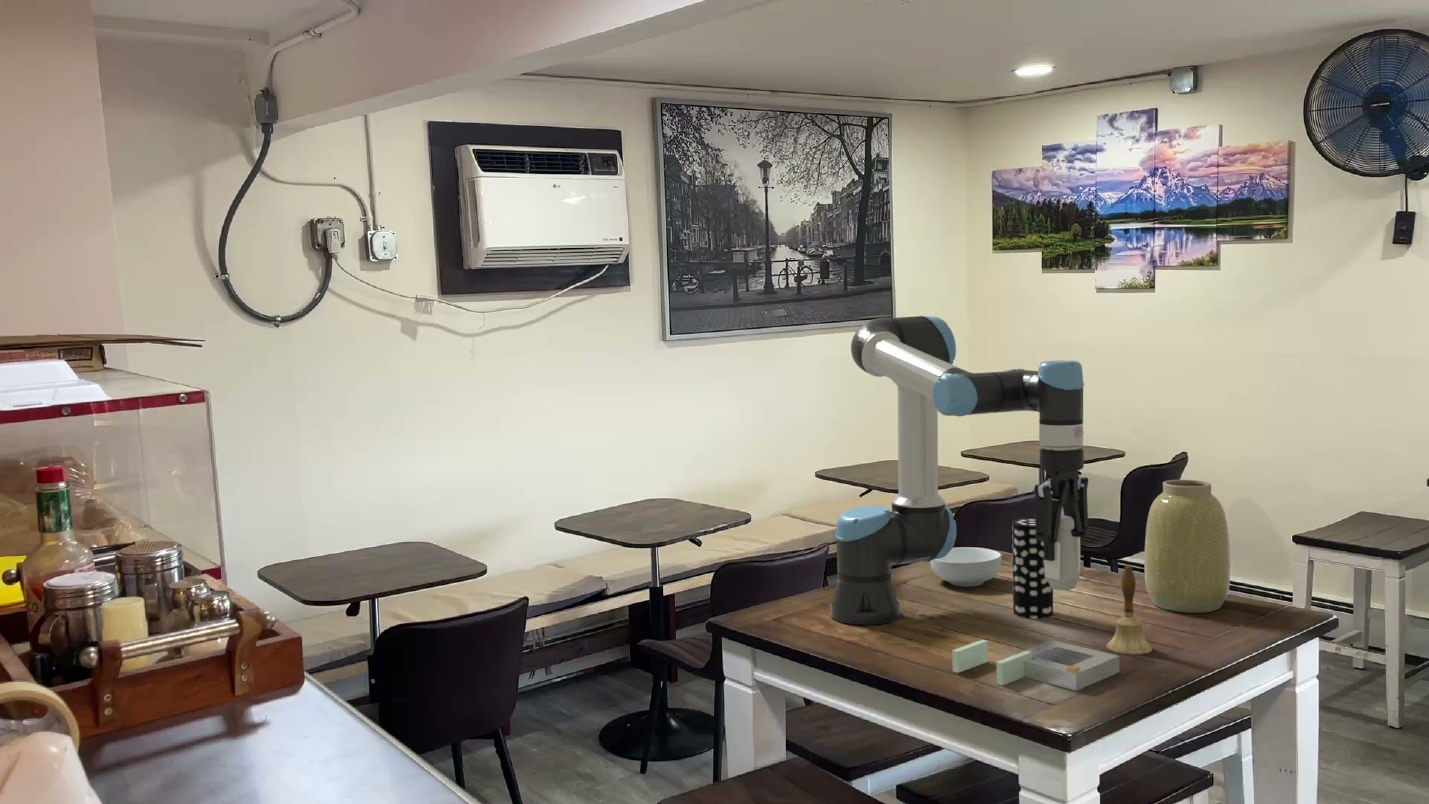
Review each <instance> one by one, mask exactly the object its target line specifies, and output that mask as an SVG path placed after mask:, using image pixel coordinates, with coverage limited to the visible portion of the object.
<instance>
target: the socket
mask: <svg viewBox="0 0 1429 804" xmlns="http://www.w3.org/2000/svg"><path fill="white" fill-rule="evenodd" d="M1024 651H1029V652H1032V658H1029V659H1027V660H1024V677H1023V678H1025V679H1026V678H1027V679H1030V680H1035V681H1036V682H1037V681H1038V682H1042V683H1046V684H1049V685H1053V686H1056V687H1060V688H1064V689H1068V690H1070V691H1073V692H1074V691H1075V692H1077V691H1079V690H1082V689H1084V688H1086V687H1088V686H1091V685H1093V684H1095V683H1098V682H1100V681H1103V680H1104V679H1107V678H1109V677H1111V676H1114V675H1116V674H1118V673H1120V655H1116V654H1113V653H1108V652H1103V651H1100V650H1096V649H1091V648H1087V647H1084V646H1083V647H1082V646H1079V645H1074V644H1071V643H1067V642H1066V643H1065V642H1061V641H1056V640H1054V639H1050V640H1048V641H1045V642H1043V643H1039V644H1037V645H1035V646H1032V647H1028V648H1027V649H1024V650H1021V651H1019V652H1015V653H1013V654H1010V655H1008V656H1007V658H1008V657H1011V656H1014V655H1016V654H1019V653H1022V652H1024Z"/></svg>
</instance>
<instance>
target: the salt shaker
mask: <svg viewBox="0 0 1429 804" xmlns="http://www.w3.org/2000/svg"><path fill="white" fill-rule="evenodd" d="M1072 529H1074V520H1073V518H1072V517H1069V516H1065V515H1064V514H1063V515H1062V514H1061V517H1060V524H1059V530H1058V537H1057V542H1058V543H1060V579H1052V578H1047V577H1046V578H1047V580H1048V582H1049V585H1050V587H1051V588H1053V590H1056V591H1071V590H1073V589H1075V588H1076V585H1077V583H1078V581H1079V579H1080V573H1079V571H1078V566H1077V561H1076V555H1075V550H1074V545H1073V540H1072V535H1071V530H1072Z"/></svg>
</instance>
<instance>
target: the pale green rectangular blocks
mask: <svg viewBox="0 0 1429 804" xmlns="http://www.w3.org/2000/svg"><path fill="white" fill-rule="evenodd" d="M988 642H989V641H988V640H986V639H985V640H984V639H982V640H978V641H977V640H976V641H974V642H972V643H969V644H965V645H964V646H961V647H957V648H954V649H953V650H951V651H952V657H951V658H952V672H953V673H956V674H959V673H962V672H965V671H966V670H967V671H968V670H969V669H972V667H973V668H975V667H978V666H980V665H983V664H986V663H988V661H989V654H988V653H989V652H988V651H989V650H988V649H989V647H988V646H989V645H988V644H989V643H988ZM1023 651H1024V650H1023ZM1015 654H1016V653H1015ZM1029 658H1032V652H1029V651H1024V652H1022V653H1019V654H1016V655H1014V656H1011V657H1008V656H1007V657H1006V658H1003V659H1001V660H998V661H996V663H995V664H996V685H998V686H1005V685H1007V684H1010V683H1012V682H1014V681H1017V680H1020V679H1022V678H1025V677H1024V660H1027V659H1029Z"/></svg>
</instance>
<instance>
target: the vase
mask: <svg viewBox="0 0 1429 804" xmlns="http://www.w3.org/2000/svg"><path fill="white" fill-rule="evenodd" d="M1144 539H1145V541H1144V558H1143V559H1144V584H1145V587H1146V591H1147V593H1148V595H1149V597H1150V599H1151V600H1152V603H1153V604H1154V605H1155V606H1156V607H1159V608H1161V609H1163V610H1167V611H1172V612H1176V613H1177V612H1178V613H1184V614H1185V613H1187V614H1203V613H1204V614H1205V613H1211V612H1216V611H1217V610H1219V609H1220V608H1221V607H1222V605H1223V604H1224V603H1225V600H1226V599H1227V596H1228V593H1229V590H1230V582H1231V552H1230V551H1231V550H1230V549H1231V548H1230V534H1229V526H1228V521H1227V515H1226V512H1225V509H1224V507H1223V504H1222V503H1221V501H1219V500H1218V498H1217V497H1216V496H1215V495H1213V494H1212V483H1210V482H1208V481H1204V480H1197V479H1170V480H1165V481H1163V482H1162V492H1161V493H1160V494H1158V496H1157V497H1156V498H1155V499H1154V500H1153V501H1152V504H1151V506H1150V509H1149V512H1148V515H1147V521H1146V526H1145V538H1144Z"/></svg>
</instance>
